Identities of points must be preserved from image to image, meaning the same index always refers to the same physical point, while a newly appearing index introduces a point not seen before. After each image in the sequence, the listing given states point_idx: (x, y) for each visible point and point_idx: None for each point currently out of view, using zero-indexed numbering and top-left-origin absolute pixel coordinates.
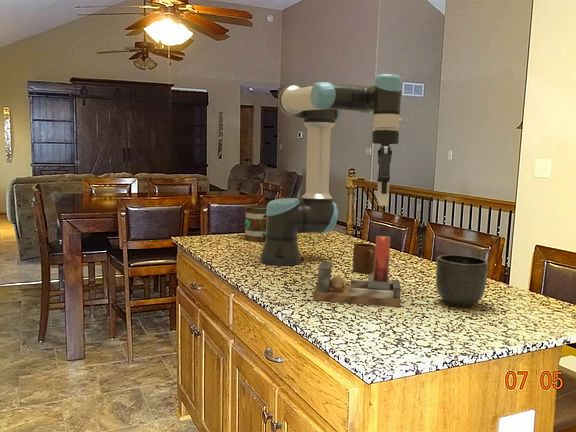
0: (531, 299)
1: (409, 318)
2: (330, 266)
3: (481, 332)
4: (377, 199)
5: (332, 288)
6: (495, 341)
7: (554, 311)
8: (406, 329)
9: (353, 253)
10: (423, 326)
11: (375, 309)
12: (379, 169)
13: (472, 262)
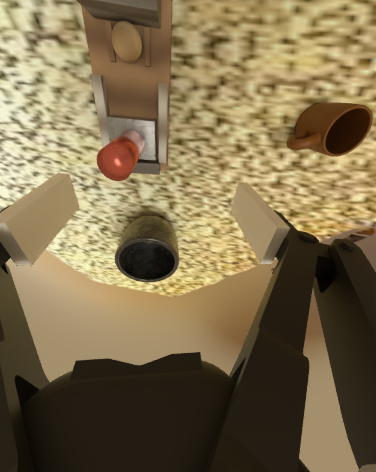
0: (185, 281)
1: (67, 168)
2: (123, 6)
3: (61, 229)
4: (241, 186)
5: None
6: None
7: (153, 285)
8: (18, 158)
9: (344, 103)
10: (44, 180)
11: (84, 124)
12: (273, 282)
13: (170, 269)
